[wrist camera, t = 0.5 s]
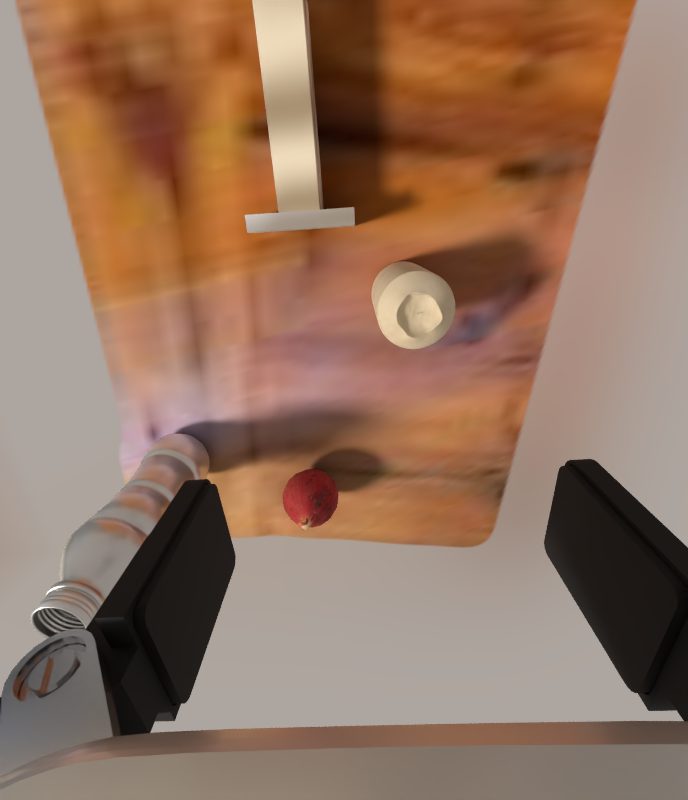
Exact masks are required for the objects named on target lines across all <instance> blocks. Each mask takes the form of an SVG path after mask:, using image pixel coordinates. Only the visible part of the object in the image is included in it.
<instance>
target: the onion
mask: <svg viewBox="0 0 688 800" xmlns="http://www.w3.org/2000/svg"><path fill="white" fill-rule="evenodd" d="M283 504H284V509H285V511H286V512H287V514H288V516H289V517H290V519H291V520H293V521H294V522H295V523H297V524H298V525H299V527H300V528H301V529H302V530H303V529H306V530H308V529H309V528H310V527H316V526H320V525H322V524H323V523H325V522H326V521H328V520H329V519H330V518H331V516H332V514H333V513H334V511H335V509H336V508H337V504H338V490H337V487H336V484H335V482H334V480H333V479H332V478H331V477H330V476H329V475H328V474H327V473H325V472H324V471H320V470H317V469H310V470H305V471H302V472H299V473H297V474H295V475H294V476H293V477H292V478H291V479H290V480H289V481H288V483H287V485H286V488H285V490H284V492H283Z"/></svg>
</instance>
